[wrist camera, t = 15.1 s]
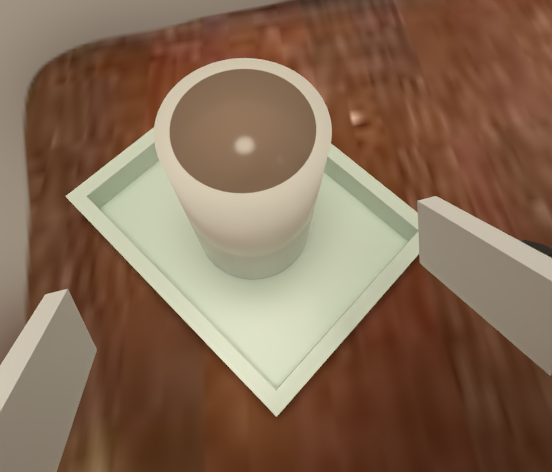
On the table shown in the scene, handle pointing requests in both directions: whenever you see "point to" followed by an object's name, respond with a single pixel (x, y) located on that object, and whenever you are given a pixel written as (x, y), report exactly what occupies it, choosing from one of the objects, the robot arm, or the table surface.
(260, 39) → the table surface
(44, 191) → the table surface
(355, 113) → the table surface
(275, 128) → the cup
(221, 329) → the tray
